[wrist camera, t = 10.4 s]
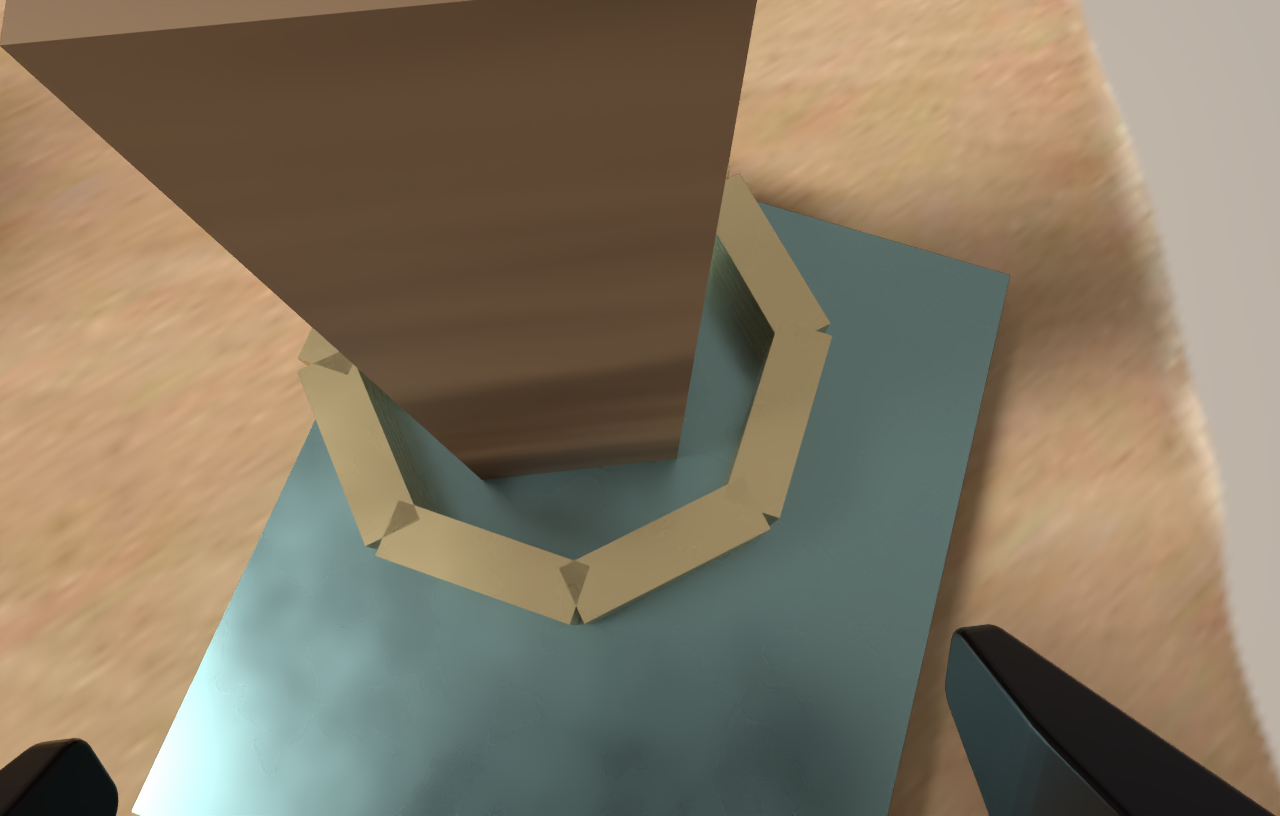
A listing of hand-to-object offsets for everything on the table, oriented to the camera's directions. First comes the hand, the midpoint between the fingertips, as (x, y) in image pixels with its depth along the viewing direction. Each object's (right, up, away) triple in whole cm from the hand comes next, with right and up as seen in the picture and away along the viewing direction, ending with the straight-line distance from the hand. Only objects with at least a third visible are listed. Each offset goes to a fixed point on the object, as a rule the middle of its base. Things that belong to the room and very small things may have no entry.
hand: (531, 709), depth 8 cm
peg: (-1, +4, +11) cm, 11 cm away
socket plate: (0, 0, +11) cm, 11 cm away
